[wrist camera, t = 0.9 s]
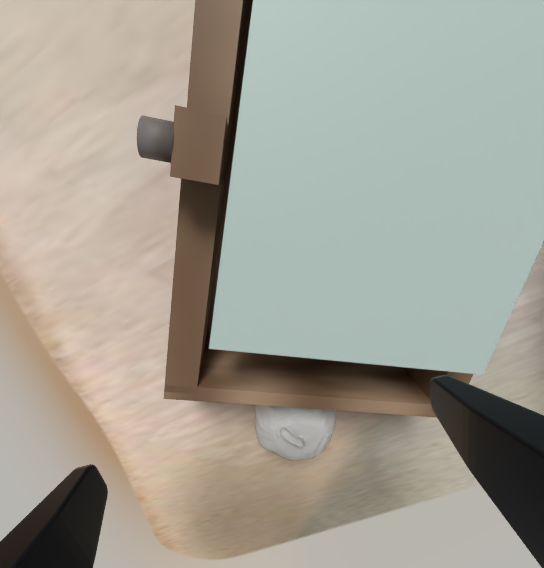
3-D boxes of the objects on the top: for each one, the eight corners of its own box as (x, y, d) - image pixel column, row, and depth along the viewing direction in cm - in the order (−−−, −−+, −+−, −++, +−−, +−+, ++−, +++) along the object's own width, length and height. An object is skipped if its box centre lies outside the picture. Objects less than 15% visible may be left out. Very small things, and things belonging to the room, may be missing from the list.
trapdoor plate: (623, 1, 10) (660, -16, 10) (467, 361, 15) (483, 374, 14) (268, -119, 9) (272, -154, 8) (210, 335, 13) (208, 348, 12)
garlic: (239, 372, 22) (240, 430, 17) (313, 348, 22) (335, 398, 17) (266, 434, 24) (273, 500, 19) (333, 411, 24) (357, 473, 19)
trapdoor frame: (531, 43, 17) (772, -61, 9) (414, 361, 23) (501, 453, 16) (197, -55, 14) (153, -318, 7) (167, 337, 20) (126, 434, 13)
